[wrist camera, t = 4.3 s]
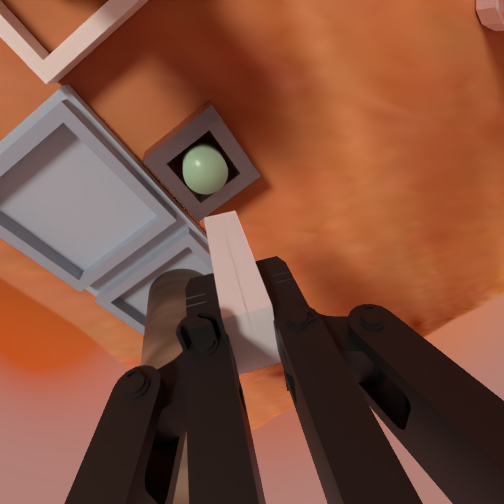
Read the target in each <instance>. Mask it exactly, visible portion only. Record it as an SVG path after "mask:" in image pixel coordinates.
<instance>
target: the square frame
mask: <svg viewBox="0 0 504 504" xmlns="http://www.w3.org/2000/svg"><path fill="white" fill-rule="evenodd" d="M148 1H149V0H108V1H107V2H106V3H105V4H104V5H103V6H102V7H101V8H100V9H99V10H97V11H96V12H95V13H94V14H93V15H92V16H91V17H90V18H89V19H88V20H87V21H86V22H84V23H83V24H82V25H81V26H80V27H79V28H78V29H77V30H76V31H75V32H74V33H72V34H71V35H70V36H69V37H68V38H67V39H66V40H65V41H64V42H63V43H62V44H60V45H59V46H58V47H57V48H56V49H55V50H54V51H53V52H52V53H51V54H49V53H48V52H47V51H46V50H45V48H44V47H43V46H42V45H41V44H40V43H39V42H38V41H37V40H36V39H35V37H34V36H33V35H32V34H31V33H30V32H29V31H28V30H27V29H26V28H25V26H24V25H23V24H22V23H21V22H20V21H19V20H18V19H17V18H16V17H15V15H14V14H13V13H12V12H11V11H10V10H9V9H8V8H7V7H6V5H5V4H4V3H3V2H2V1H1V0H0V37H1V38H2V39H3V40H4V41H5V42H6V43H7V44H8V45H9V46H10V47H11V48H12V49H13V50H14V52H15V53H16V54H17V55H18V56H19V57H20V58H21V59H22V60H23V61H24V62H25V63H26V64H27V65H28V66H29V67H30V68H31V69H32V70H33V71H34V72H35V73H36V74H37V75H38V76H39V77H40V78H41V80H42V81H43V82H44V83H45V84H50V83H55V82H58V81H59V80H60V79H62V78H63V77H64V76H65V75H66V74H67V73H68V72H69V71H71V70H72V69H73V68H74V67H75V66H76V65H77V64H78V63H79V62H81V61H82V60H83V59H84V58H85V57H86V56H87V55H88V54H90V53H91V52H92V51H93V50H94V49H95V48H96V47H97V46H98V45H100V44H101V43H102V42H103V41H104V40H105V39H106V38H107V37H108V36H110V35H111V34H112V33H113V32H114V31H115V30H116V29H117V28H119V27H120V26H121V25H122V24H123V23H124V22H125V21H126V20H127V19H129V18H130V17H131V16H132V15H133V14H134V13H135V12H136V11H137V10H139V9H140V8H141V7H142V6H143V5H144V4H145V3H146V2H148Z"/></svg>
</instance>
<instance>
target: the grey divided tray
mask: <svg viewBox="0 0 504 504" xmlns="http://www.w3.org/2000/svg"><path fill="white" fill-rule="evenodd" d="M0 238H1V239H3V240H4V241H6V242H7V243H9V244H10V245H12V246H13V247H15V248H16V249H18V250H19V251H20V252H22V253H23V254H25V255H26V256H28V257H29V258H31V259H32V260H34V261H35V262H37V263H38V264H40V265H41V266H42V267H44V268H45V269H47V270H48V271H50V272H51V273H53V274H54V275H56V276H57V277H59V278H60V279H62V280H63V281H64V282H66V283H67V284H69V285H70V286H72V287H73V288H75V289H76V290H78V291H79V292H81V291H83V290H84V289H86V290H87V291H89V292H90V293H92V294H93V295H95V296H96V297H97V298H96V301H95V303H97V304H98V305H100V306H101V307H103V308H104V309H106V310H107V311H108V312H110V313H111V314H113V315H114V316H116V317H117V318H119V319H120V320H122V321H123V322H125V323H126V324H128V325H129V326H130V327H132V328H133V329H135V330H136V331H138V332H139V333H141V334H142V335H144V331H145V322H146V313H147V304H148V295H149V289H150V286H151V284H152V283H153V281H154V280H155V279H156V278H157V277H158V276H160V275H161V274H163V273H165V272H167V271H170V270H174V269H191V270H195V271H198V272H200V273H202V274H203V275H207V274H211V273H214V272H213V267H212V261H211V255H210V250H209V244H208V239H207V234H206V233H205V232H204V231H203V230H202V229H201V228H200V226H199V225H198V224H197V223H196V222H195V221H194V220H193V219H192V218H191V217H190V216H189V215H188V213H187V212H186V211H185V210H184V209H183V208H182V207H181V206H180V205H179V204H178V203H177V202H176V200H175V199H174V198H173V197H172V196H171V195H170V194H169V193H168V192H167V191H166V190H165V189H164V187H163V186H162V185H161V184H160V183H159V182H158V181H157V180H156V179H155V178H154V177H153V176H152V174H151V173H150V172H149V171H148V170H147V169H146V168H145V167H144V166H143V165H142V164H141V163H140V161H139V160H138V159H137V158H136V157H135V156H134V155H133V154H132V153H131V152H130V151H129V150H128V148H127V147H126V146H125V145H124V144H123V143H122V142H121V141H120V140H119V139H118V138H117V137H116V135H115V134H114V133H113V132H112V131H111V130H110V129H109V128H108V127H107V126H106V125H105V124H104V122H103V121H102V120H101V119H100V118H99V117H98V116H97V115H96V114H95V113H94V112H93V110H92V109H91V108H90V107H89V106H88V105H87V104H86V103H85V102H84V101H83V100H82V99H81V97H80V96H79V95H78V94H77V93H76V92H75V91H74V90H73V89H72V88H71V87H70V86H69V84H66V85H63V86H62V87H61V88H60V89H58V90H57V91H56V92H55V93H54V94H53V95H52V96H51V97H49V98H48V99H47V100H46V101H45V102H44V103H43V104H42V105H40V106H39V107H38V108H37V109H36V110H35V111H34V112H33V113H31V114H30V115H29V116H28V117H27V118H26V119H25V120H24V121H22V122H21V123H20V124H19V125H18V126H17V127H16V128H15V129H14V130H12V131H11V132H10V133H9V134H8V135H7V136H6V137H5V138H3V139H2V140H1V141H0Z"/></svg>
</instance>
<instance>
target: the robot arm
mask: <svg viewBox="0 0 504 504" xmlns="http://www.w3.org/2000/svg"><path fill="white" fill-rule="evenodd" d="M204 222H205V227H206V233H207V239H208V244H209V250H210V255H211V261H212V267H213V272H214V273H211V274H207V275H202V276H198V277H194V278H190V280H189V282H188V284H187V286H186V288H185V294H186V317H185V318H183V319H182V320H181V322H180V323H179V324H178V326H177V329H176V335H177V338H178V340H179V342H180V345H181V347H182V349H183V351H182V352H181V353H180V354H179V355H178V356H177V357H176V358H175V359H174V360H172V361H171V362H169V363H167V364H166V365H164V366H162V367H160V368H159V369H156V368H154V367H153V366H148V365H142V366H138V367H135V368H133V369H131V370H129V371H128V372H126V373H125V374H124V375H123V376H122V377H121V378H120V379H119V380H118V381H117V383H116V385H115V386H114V388H113V390H112V392H111V395H110V397H109V400H108V402H107V404H106V407H105V409H104V411H103V414H102V416H101V418H100V421H99V423H98V426H97V428H96V430H95V433H94V435H93V437H92V440H91V442H90V445H89V447H88V449H87V452H86V454H85V456H84V459H83V461H82V463H81V466H80V469H79V471H78V473H77V475H76V478H75V480H74V483H73V485H72V487H71V490H70V492H69V494H68V497H67V499H66V501H65V504H173V500H174V495H175V490H176V485H177V479H178V474H179V469H180V463H181V458H182V453H183V448H184V442H185V437H186V432H187V460H188V488H189V504H266V503H265V498H264V493H263V488H262V483H261V478H260V473H259V468H258V464H257V459H256V454H255V450H254V444H253V439H252V434H251V429H250V425H249V420H248V415H247V410H246V405H245V400H244V395H243V391H242V387H241V384H240V380H239V374H242V373H246V372H250V371H253V370H257V369H260V368H264V367H267V366H271V365H274V364H278V363H281V362H282V364H283V367H284V373H285V380H286V387H287V391H288V390H289V391H290V393H291V396H292V399H293V402H294V405H295V408H296V411H297V414H298V417H299V420H300V423H301V426H302V429H303V432H304V435H305V438H306V441H307V444H308V447H309V450H310V452H311V456H312V458H313V462H314V464H315V467H316V470H317V473H318V476H319V479H320V482H321V485H322V488H323V491H324V494H325V497H326V500H327V503H328V504H423V503H422V501H421V500H420V498H419V496H418V494H417V492H416V490H415V489H414V487H413V485H412V483H411V481H410V480H409V478H408V476H407V474H406V472H405V471H404V469H403V467H402V465H401V463H400V461H399V459H398V458H397V456H396V454H395V452H394V451H393V449H392V447H391V445H390V443H389V441H388V439H387V438H386V436H385V434H384V432H383V430H382V428H381V427H380V425H379V423H378V421H377V420H376V418H375V416H374V414H373V412H372V410H371V408H372V409H373V411H374V412H375V413H376V414H377V415H378V416H379V417H380V419H381V420H382V421H383V422H384V423H385V425H386V426H387V427H388V428H389V429H390V430H391V432H392V433H393V434H394V435H395V436H396V438H397V439H398V440H399V441H400V442H401V443H402V445H403V446H404V447H405V448H406V449H407V450H408V452H409V453H410V454H411V455H412V456H413V458H414V459H415V460H416V461H417V462H418V463H419V465H420V466H421V467H422V468H423V469H424V470H425V472H426V473H427V474H428V475H429V476H430V477H431V479H432V480H433V481H434V482H435V483H436V484H437V486H438V487H439V488H440V489H441V490H442V491H443V493H444V494H445V495H446V496H447V497H448V499H449V500H450V501H451V502H452V503H453V504H504V401H503V400H502V399H501V398H499V397H498V396H497V395H495V394H494V393H493V392H491V391H490V390H489V389H488V388H487V387H485V386H484V385H483V384H482V383H480V382H479V381H478V380H476V379H475V378H474V377H472V376H471V375H470V374H469V373H467V372H466V371H465V370H464V369H462V368H461V367H460V366H458V365H457V364H456V363H455V362H453V361H452V360H451V359H450V358H448V357H447V356H446V355H445V354H443V353H442V352H441V351H440V350H438V349H437V348H436V347H434V346H433V345H432V344H431V343H429V342H428V341H427V340H425V339H424V338H423V337H422V336H421V335H419V334H418V333H417V332H415V331H414V330H413V329H412V328H410V327H409V326H408V325H407V324H405V323H404V322H403V321H401V320H400V319H399V318H398V317H396V316H395V315H394V314H393V313H391V312H390V311H388V310H387V309H385V308H383V307H381V306H377V305H373V304H363V305H360V306H357V307H355V308H354V309H353V310H351V311H350V314H349V316H348V317H333V316H325V315H322V314H319V313H317V312H316V311H315V310H314V309H312V308H310V307H309V305H308V304H307V302H306V300H305V298H304V296H303V295H302V293H301V291H300V289H299V287H298V285H297V283H296V281H295V279H294V278H293V276H292V274H291V272H290V270H289V268H288V266H287V264H286V262H284V261H283V260H281V259H280V258H278V257H277V256H275V257H271V258H267V259H263V260H259V261H255V260H254V257H253V255H252V252H251V250H250V247H249V245H248V242H247V239H246V237H245V234H244V232H243V229H242V226H241V224H240V221H239V219H238V216H237V214H236V211H231V212H226V213H222V214H218V215H213V216H209V217H205V218H204ZM280 359H281V360H280ZM369 406H370V407H371V408H370V407H369Z"/></svg>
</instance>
